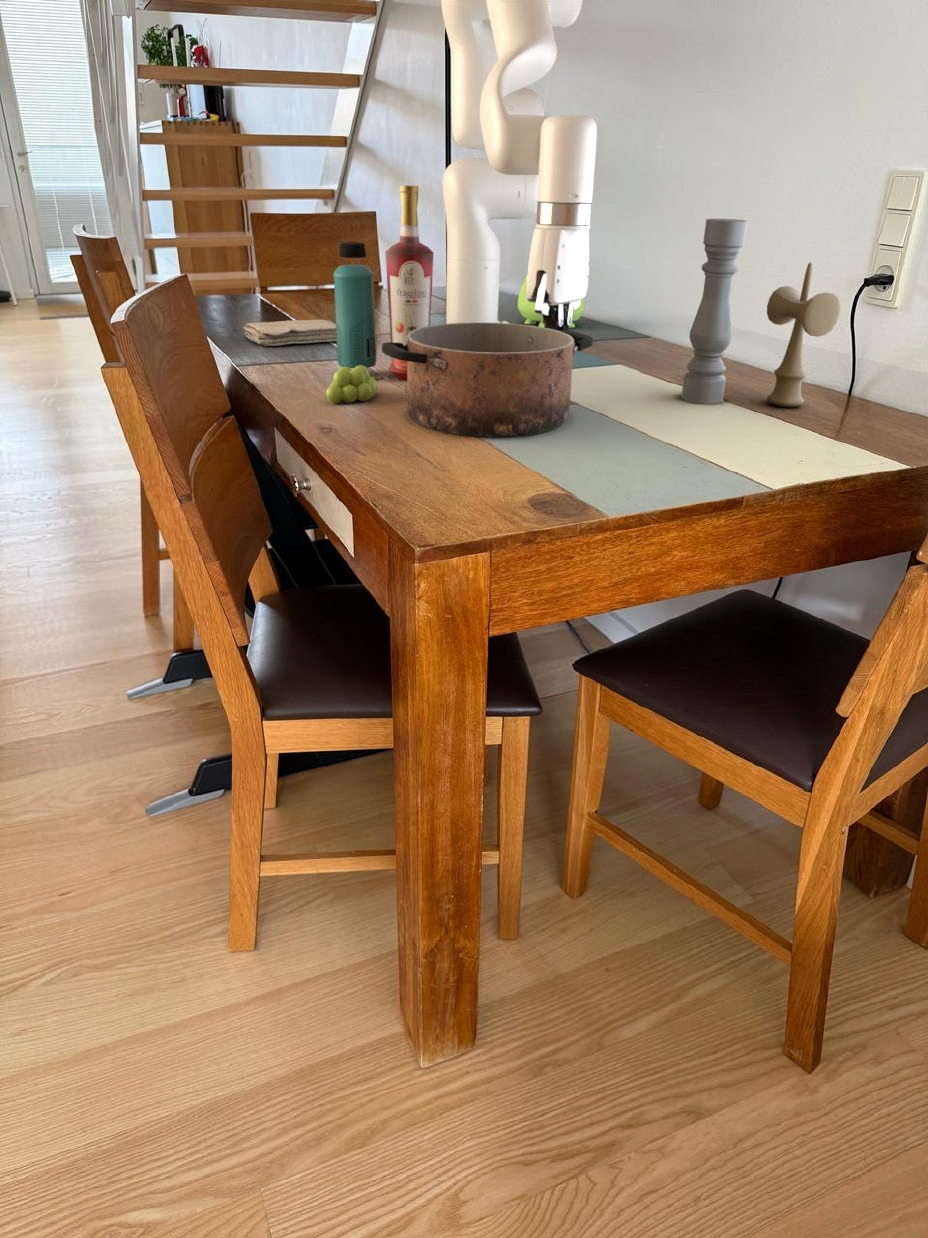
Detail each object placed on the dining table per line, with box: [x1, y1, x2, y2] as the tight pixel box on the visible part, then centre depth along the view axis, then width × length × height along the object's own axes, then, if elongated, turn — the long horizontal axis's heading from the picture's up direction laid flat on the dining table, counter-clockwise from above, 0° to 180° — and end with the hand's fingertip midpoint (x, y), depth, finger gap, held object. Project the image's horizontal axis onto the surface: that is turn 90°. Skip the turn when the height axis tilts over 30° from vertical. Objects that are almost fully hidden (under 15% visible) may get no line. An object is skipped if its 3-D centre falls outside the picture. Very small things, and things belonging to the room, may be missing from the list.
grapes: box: [325, 365, 385, 404], centre depth 135 cm, size 12×7×4 cm, turn 143°
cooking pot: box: [381, 322, 594, 438], centre depth 125 cm, size 30×22×11 cm
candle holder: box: [680, 218, 749, 405], centre depth 134 cm, size 6×6×25 cm
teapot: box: [517, 276, 586, 328], centre depth 194 cm, size 20×13×13 cm
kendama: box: [766, 262, 841, 408], centre depth 133 cm, size 6×10×20 cm, turn 20°
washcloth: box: [243, 319, 337, 347], centre depth 175 cm, size 12×18×3 cm, turn 119°
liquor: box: [385, 185, 434, 381], centre depth 142 cm, size 7×7×28 cm
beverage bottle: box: [332, 241, 378, 369], centre depth 145 cm, size 6×7×20 cm
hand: (555, 352), depth 135 cm, fingers closed
